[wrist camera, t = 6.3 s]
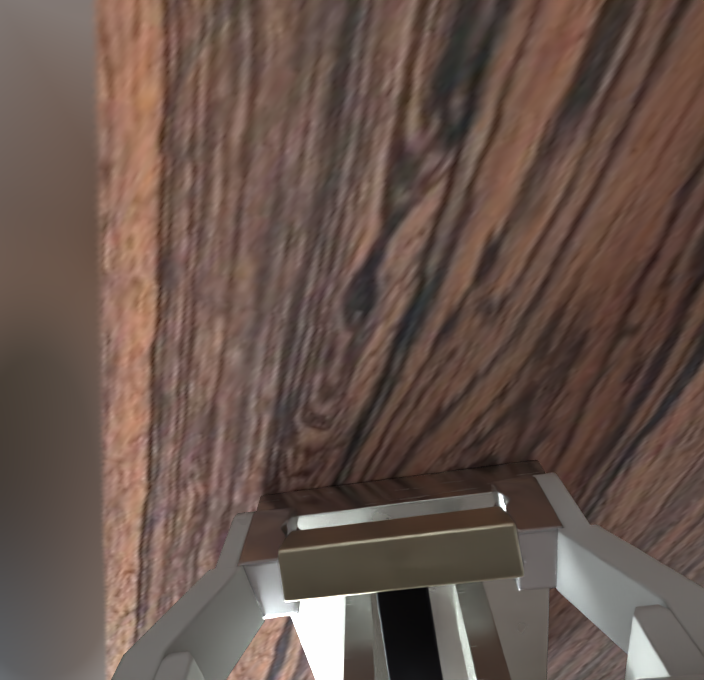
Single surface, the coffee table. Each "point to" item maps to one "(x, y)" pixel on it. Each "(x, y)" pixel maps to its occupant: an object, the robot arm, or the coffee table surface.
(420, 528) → the lever
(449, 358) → the coffee table surface
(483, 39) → the coffee table surface
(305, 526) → the bracket
